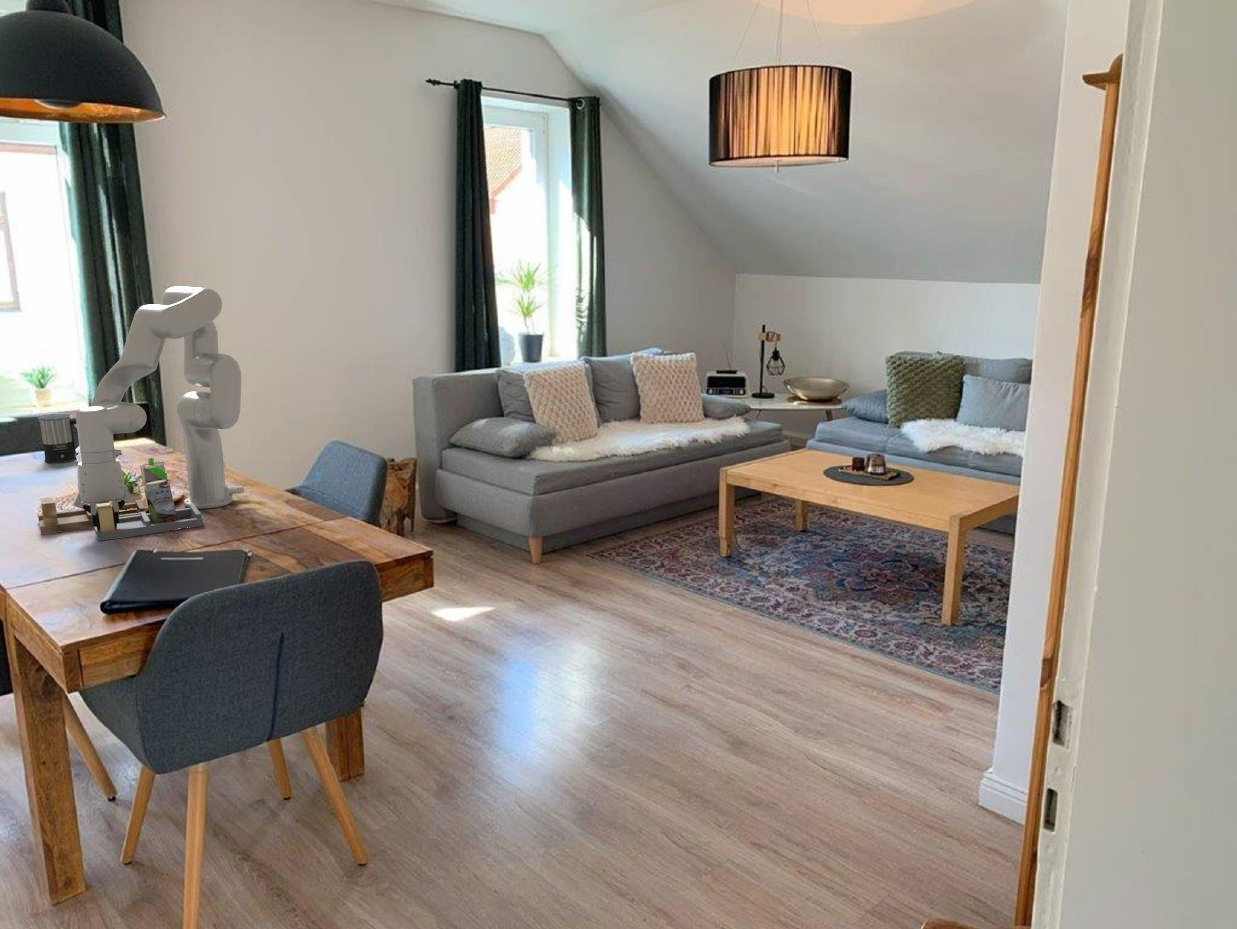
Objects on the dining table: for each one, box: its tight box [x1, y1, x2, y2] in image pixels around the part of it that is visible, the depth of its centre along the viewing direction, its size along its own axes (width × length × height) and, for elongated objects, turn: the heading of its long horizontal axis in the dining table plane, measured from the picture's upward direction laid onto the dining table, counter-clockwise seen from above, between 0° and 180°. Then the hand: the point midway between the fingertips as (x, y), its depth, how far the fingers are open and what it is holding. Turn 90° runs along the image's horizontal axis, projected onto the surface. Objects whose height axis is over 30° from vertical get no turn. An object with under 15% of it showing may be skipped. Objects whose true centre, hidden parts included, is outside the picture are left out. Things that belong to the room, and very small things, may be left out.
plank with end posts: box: [37, 496, 146, 535], centre depth 248 cm, size 24×12×7 cm, turn 123°
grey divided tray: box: [93, 502, 204, 542], centre depth 244 cm, size 24×12×7 cm, turn 123°
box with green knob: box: [139, 457, 168, 484], centre depth 288 cm, size 4×7×8 cm, turn 136°
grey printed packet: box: [143, 479, 178, 524], centre depth 245 cm, size 6×7×12 cm
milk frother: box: [37, 413, 79, 464], centre depth 315 cm, size 14×16×15 cm
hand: (106, 526), depth 239 cm, fingers closed on grey divided tray, 3 cm apart
